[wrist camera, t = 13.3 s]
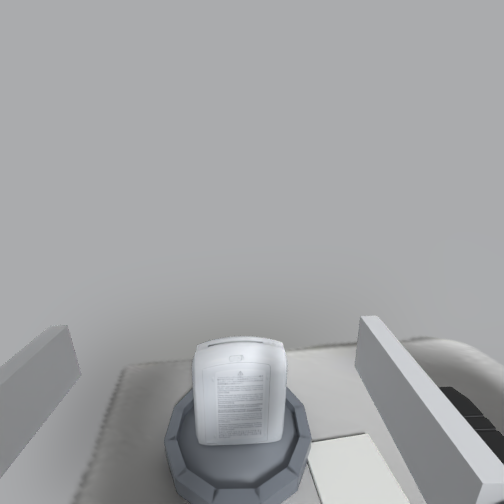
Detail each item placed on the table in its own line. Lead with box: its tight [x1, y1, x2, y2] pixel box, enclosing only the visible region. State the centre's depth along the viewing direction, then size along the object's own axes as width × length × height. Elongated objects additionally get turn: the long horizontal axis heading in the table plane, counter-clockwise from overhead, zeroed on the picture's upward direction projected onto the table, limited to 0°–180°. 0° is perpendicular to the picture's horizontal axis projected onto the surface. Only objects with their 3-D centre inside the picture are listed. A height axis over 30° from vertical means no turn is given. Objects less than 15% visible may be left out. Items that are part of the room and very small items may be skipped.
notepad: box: [307, 434, 410, 504], centre depth 25 cm, size 8×12×1 cm, turn 9°
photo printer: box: [192, 336, 288, 445], centre depth 30 cm, size 10×4×12 cm, turn 94°
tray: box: [164, 387, 312, 504], centre depth 31 cm, size 16×16×2 cm
